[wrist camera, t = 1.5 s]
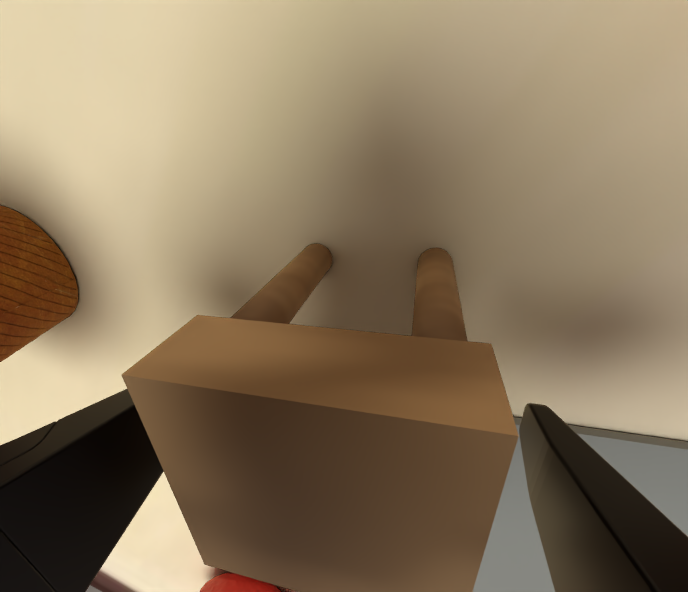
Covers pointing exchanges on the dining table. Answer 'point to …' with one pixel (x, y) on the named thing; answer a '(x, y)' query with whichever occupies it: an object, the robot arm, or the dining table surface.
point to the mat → (519, 522)
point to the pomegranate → (237, 584)
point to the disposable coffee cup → (30, 283)
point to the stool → (332, 439)
